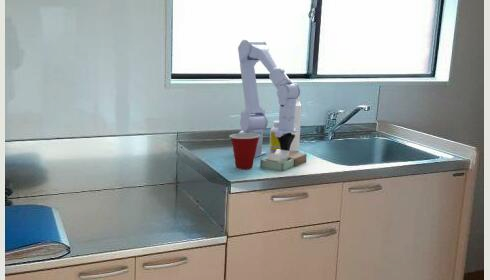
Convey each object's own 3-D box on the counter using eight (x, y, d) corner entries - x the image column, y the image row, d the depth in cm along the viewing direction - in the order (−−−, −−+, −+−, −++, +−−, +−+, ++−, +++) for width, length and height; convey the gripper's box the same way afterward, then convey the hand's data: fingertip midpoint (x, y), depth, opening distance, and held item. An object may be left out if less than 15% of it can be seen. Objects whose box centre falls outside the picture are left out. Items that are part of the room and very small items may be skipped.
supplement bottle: (286, 155, 212) (288, 123, 210) (269, 154, 212) (271, 122, 210) (285, 151, 219) (287, 120, 216) (269, 151, 219) (270, 119, 216)
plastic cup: (238, 162, 197) (239, 130, 195) (264, 167, 192) (265, 134, 190) (222, 168, 188) (223, 134, 186) (248, 173, 183) (250, 138, 180)
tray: (259, 167, 191) (260, 159, 191) (271, 162, 199) (271, 155, 198) (282, 171, 187) (283, 163, 186) (293, 166, 195) (294, 158, 194)
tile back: (273, 161, 195) (272, 156, 193) (278, 154, 198) (277, 149, 196) (284, 163, 193) (283, 158, 191) (289, 156, 196) (288, 150, 194)
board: (270, 162, 199) (270, 154, 199) (282, 157, 208) (282, 150, 207) (294, 166, 194) (295, 158, 194) (306, 161, 203) (306, 153, 202)
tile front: (272, 159, 194) (270, 165, 193) (268, 152, 191) (266, 158, 190) (283, 161, 192) (281, 167, 191) (280, 154, 189) (277, 160, 188)
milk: (298, 151, 220) (302, 98, 216) (284, 152, 218) (288, 97, 214) (293, 148, 226) (297, 96, 221) (279, 148, 224) (283, 95, 220)
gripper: (288, 120, 187) (286, 158, 189) (305, 116, 199) (302, 151, 202) (270, 118, 190) (268, 155, 193) (288, 113, 202) (285, 149, 205)
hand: (284, 153), depth 197 cm, fingers closed
